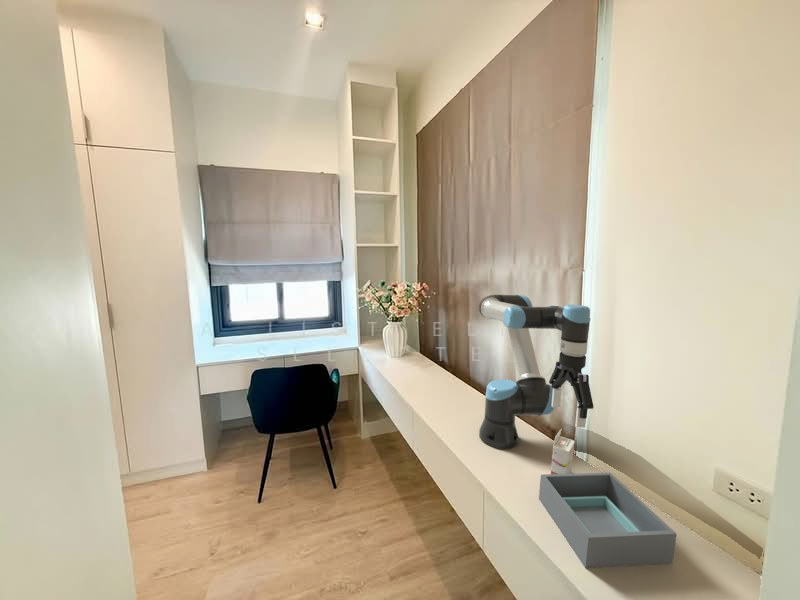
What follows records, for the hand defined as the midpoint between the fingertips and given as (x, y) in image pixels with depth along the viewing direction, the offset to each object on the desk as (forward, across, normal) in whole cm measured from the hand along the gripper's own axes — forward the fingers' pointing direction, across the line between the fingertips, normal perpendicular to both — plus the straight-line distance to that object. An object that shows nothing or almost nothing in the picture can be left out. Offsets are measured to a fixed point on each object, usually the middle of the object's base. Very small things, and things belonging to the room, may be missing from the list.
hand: (567, 416), depth 106 cm
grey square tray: (+21, +21, -2) cm, 30 cm away
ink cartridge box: (+22, 0, 0) cm, 22 cm away
